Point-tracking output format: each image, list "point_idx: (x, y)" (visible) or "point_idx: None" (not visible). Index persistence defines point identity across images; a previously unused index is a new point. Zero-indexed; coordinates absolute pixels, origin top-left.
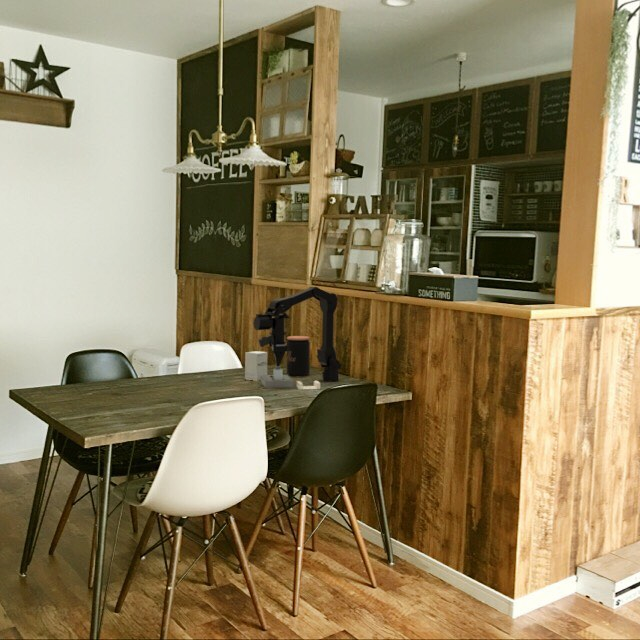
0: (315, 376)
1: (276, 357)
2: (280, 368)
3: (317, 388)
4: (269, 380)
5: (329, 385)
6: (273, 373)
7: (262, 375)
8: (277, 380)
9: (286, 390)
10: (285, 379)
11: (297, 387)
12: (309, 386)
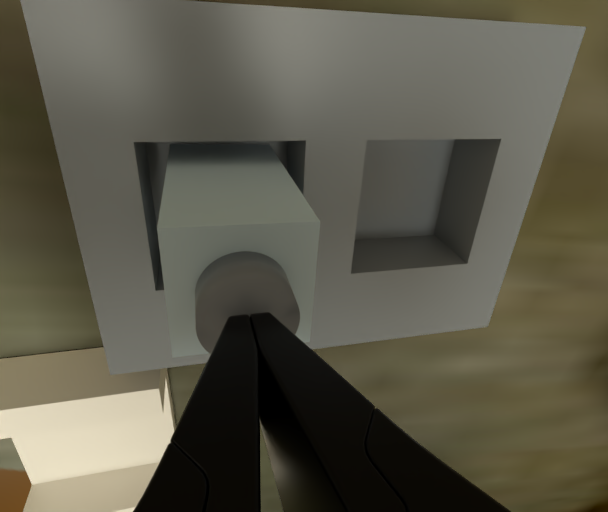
0: (580, 430)
1: (149, 503)
2: None
3: (32, 489)
4: (111, 87)
5: (263, 508)
6: (281, 191)
7: (566, 49)
8: (115, 206)
9: (18, 254)
10: None
11: (92, 359)
12: (146, 436)
